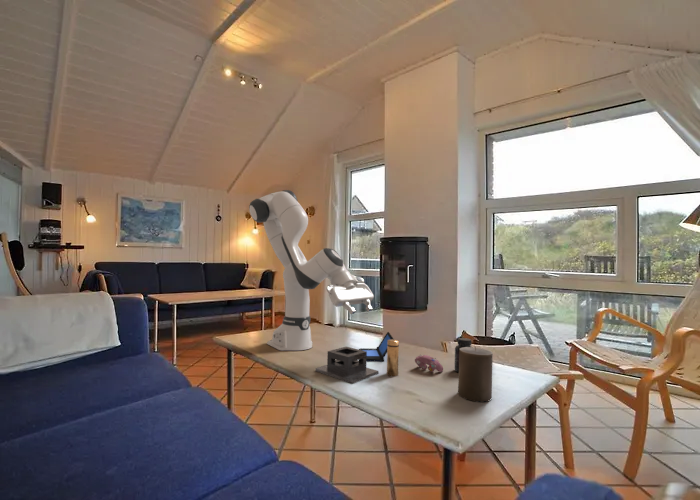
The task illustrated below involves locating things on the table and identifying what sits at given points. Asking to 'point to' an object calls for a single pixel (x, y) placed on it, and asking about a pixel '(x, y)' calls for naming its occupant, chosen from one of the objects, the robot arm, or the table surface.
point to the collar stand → (347, 365)
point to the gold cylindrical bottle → (392, 357)
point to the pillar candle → (475, 374)
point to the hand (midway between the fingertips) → (362, 311)
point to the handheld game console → (378, 350)
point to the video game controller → (432, 363)
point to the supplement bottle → (461, 343)
